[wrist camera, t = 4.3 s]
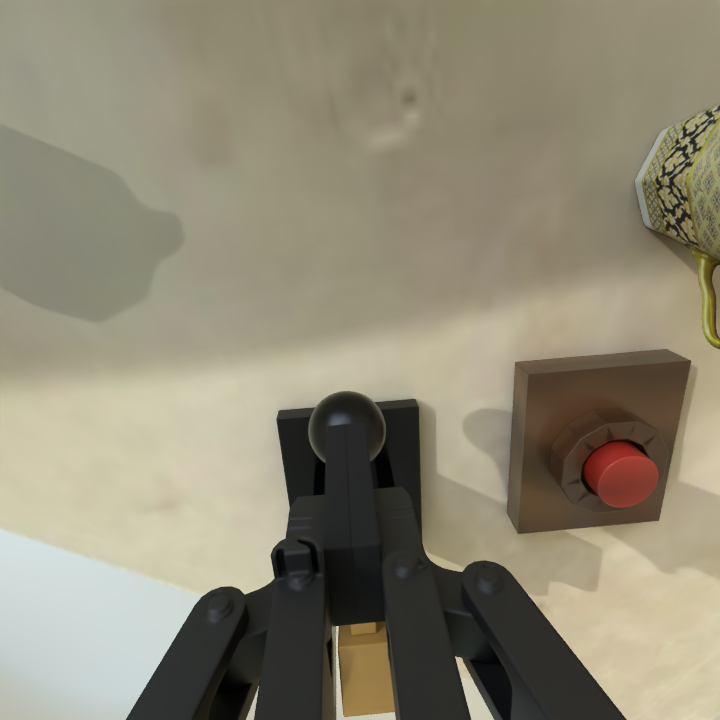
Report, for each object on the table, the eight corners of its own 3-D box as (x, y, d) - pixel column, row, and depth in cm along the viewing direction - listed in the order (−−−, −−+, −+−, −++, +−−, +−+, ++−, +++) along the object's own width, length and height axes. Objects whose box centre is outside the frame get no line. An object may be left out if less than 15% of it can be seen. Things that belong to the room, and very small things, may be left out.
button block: (514, 361, 29) (541, 386, 26) (666, 348, 30) (715, 371, 26) (506, 513, 33) (528, 554, 30) (639, 500, 34) (677, 539, 30)
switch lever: (309, 393, 22) (301, 396, 18) (379, 387, 22) (385, 389, 18) (331, 672, 21) (328, 729, 18) (403, 665, 21) (413, 720, 18)
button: (585, 443, 27) (602, 459, 26) (644, 437, 28) (663, 453, 26) (579, 492, 29) (594, 510, 27) (635, 487, 29) (653, 505, 27)
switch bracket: (278, 410, 30) (229, 603, 16) (415, 398, 30) (486, 578, 16) (299, 554, 34) (275, 806, 20) (419, 543, 34) (478, 785, 20)
